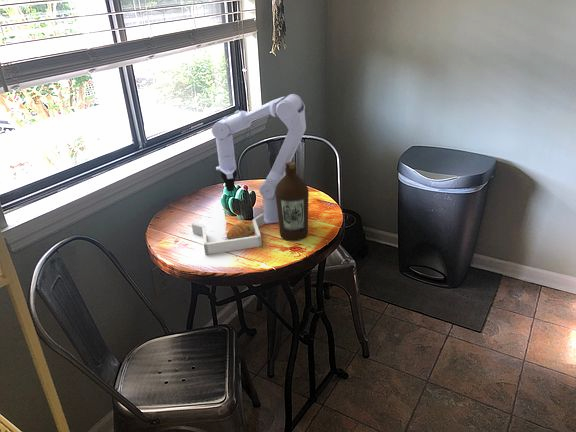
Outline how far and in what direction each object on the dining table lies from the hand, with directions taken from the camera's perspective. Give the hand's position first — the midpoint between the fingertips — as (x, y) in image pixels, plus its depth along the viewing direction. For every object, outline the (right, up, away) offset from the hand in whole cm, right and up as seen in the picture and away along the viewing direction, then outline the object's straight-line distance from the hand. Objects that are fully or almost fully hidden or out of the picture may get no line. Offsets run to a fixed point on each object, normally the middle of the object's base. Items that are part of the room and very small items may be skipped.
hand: (230, 190), depth 168 cm
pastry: (+5, -16, -10) cm, 19 cm away
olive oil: (+23, -15, -12) cm, 30 cm away
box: (+2, -17, -12) cm, 21 cm away
